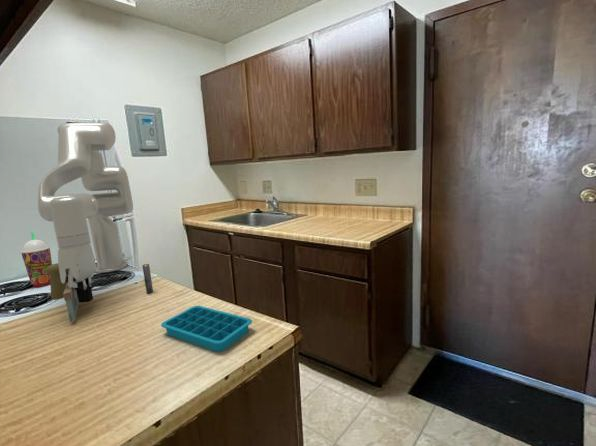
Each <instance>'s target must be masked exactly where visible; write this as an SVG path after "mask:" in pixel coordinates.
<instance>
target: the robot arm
mask: <svg viewBox="0 0 596 446" xmlns="http://www.w3.org/2000/svg"><path fill="white" fill-rule="evenodd" d="M56 129H57V135H58V141H57V142H58V144H57V145H58V148H57V149H58V150H57V153H58V154H57V155H58V156H57V165H56V166H55V167H53V168H52V169H50V171H48V172H47V174H46V175H45V176H44V177H43V178H42V180H41V181H40V183H39V186H38V192H37V193H38V195H37V196H38V197H37V206H38V207H37V208H38V214H39V216H40V217H41V218H42V220H44V221H47V222H53V228H54V233H55V237H56V243H57V248H58V250H57V261H58V262H57V263H58V264H59V272H60V278H61V282H62V283H63V284H65V283H68V284H69V289H70V288H74V289H75V290H76V291H77V296H78V301H79V304H81V303H90V302H91V301H93V299H94V296H93V291H92V278H93V277H94V275H95V274H94V273H101V274H102V273H103V274H104V273H110V272H115V271H119V270H122V269H125V268H126V267H128V266H129V265H128V264H129V263H128V262H127V261H125V260H124V259H123V258H125V257H126V254H125V253H124V252H123V251H122V247H121V240H120V236H119V229H118V228H119V227H118V225H117V224H116V222H115V221H113V220H112V219H111V218H110V217H114V216H123V215H130V214H131V213H132V212H133V210H134V201H133V197H132V191H131V186H130V181H129V176H128V173H127V170H126V169H125V168H124V167H122V166H119V165H109V166H107V165H105V164H104V159H103V155H102V152H101V151H110V150H111V149H112V147H113V146H114V145H115V143H116V140H117V139H116V132H115V129H114V128H113V125H112V124H110V123H109V122H85V121H84V122H81V121H80V122H79V121H78V122H76V121H75V122H65V123H61V124H59V125H58V126H57V128H56ZM77 179H81V183H82V185H83V187H84V189H85V190H87V191H89V192H101V191H102V193H93V194H90V193H84V192H83V193H72V194H71V193H69V194H57V195H55V194H56V192H57V191H58V190H59V189H60V188H61V187H62V186H64V185H67V184H68V183H71V182H73V181H75V180H77ZM103 191H104V192H103ZM105 191H115V192H105ZM89 229H90V232H89ZM90 234H91V237H90ZM91 239H92V244H93V248H92V245H91ZM122 252H123V253H122Z"/></svg>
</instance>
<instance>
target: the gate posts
mask: <svg viewBox="0 0 596 446" xmlns="http://www.w3.org/2000/svg"><path fill="white" fill-rule="evenodd" d="M142 271H143V280H144V285H145V291H146V294H147V295H150V294H153V293H154V288H153V281H152V275H151V269H150V263H145V264H142Z"/></svg>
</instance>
